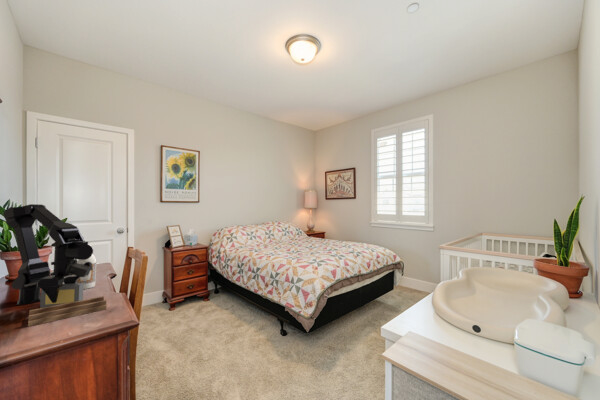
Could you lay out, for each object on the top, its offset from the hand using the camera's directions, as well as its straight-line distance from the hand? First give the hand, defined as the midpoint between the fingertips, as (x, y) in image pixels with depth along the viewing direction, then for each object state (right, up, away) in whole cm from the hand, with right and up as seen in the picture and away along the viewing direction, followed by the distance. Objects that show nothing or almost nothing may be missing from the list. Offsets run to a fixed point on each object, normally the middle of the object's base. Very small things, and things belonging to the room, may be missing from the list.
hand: (62, 298), depth 97 cm
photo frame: (0, -3, 0) cm, 3 cm away
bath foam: (-10, -4, +22) cm, 24 cm away
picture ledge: (+10, -3, -7) cm, 12 cm away
